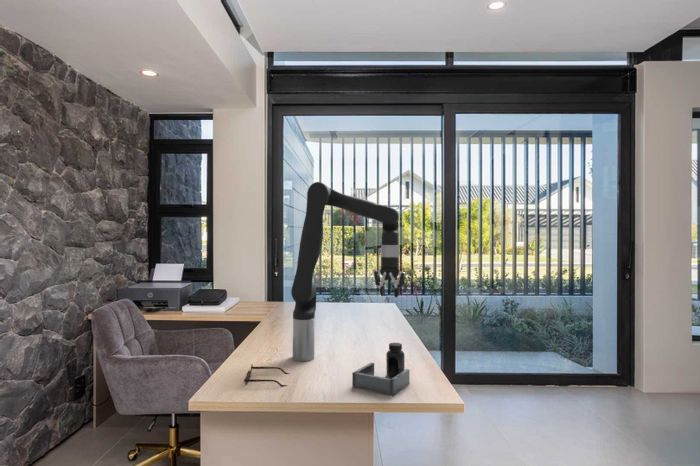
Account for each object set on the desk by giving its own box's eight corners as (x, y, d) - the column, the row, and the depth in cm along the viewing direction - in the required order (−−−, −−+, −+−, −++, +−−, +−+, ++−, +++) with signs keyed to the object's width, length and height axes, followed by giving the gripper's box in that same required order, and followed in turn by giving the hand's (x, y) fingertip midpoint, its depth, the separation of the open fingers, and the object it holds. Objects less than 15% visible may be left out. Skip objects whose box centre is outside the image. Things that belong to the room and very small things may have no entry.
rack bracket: (371, 375, 159) (371, 362, 159) (409, 383, 152) (409, 369, 152) (352, 387, 147) (352, 372, 147) (392, 396, 140) (392, 380, 140)
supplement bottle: (403, 373, 163) (403, 341, 163) (405, 379, 156) (406, 346, 156) (385, 373, 163) (385, 341, 163) (387, 379, 156) (387, 346, 156)
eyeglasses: (250, 374, 161) (250, 361, 161) (290, 374, 162) (290, 361, 162) (243, 388, 146) (243, 374, 146) (287, 387, 147) (287, 373, 147)
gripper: (370, 255, 177) (370, 296, 177) (402, 256, 170) (401, 299, 170) (378, 255, 184) (378, 294, 184) (409, 256, 176) (409, 296, 176)
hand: (389, 296), depth 177 cm, fingers open, 5 cm apart
